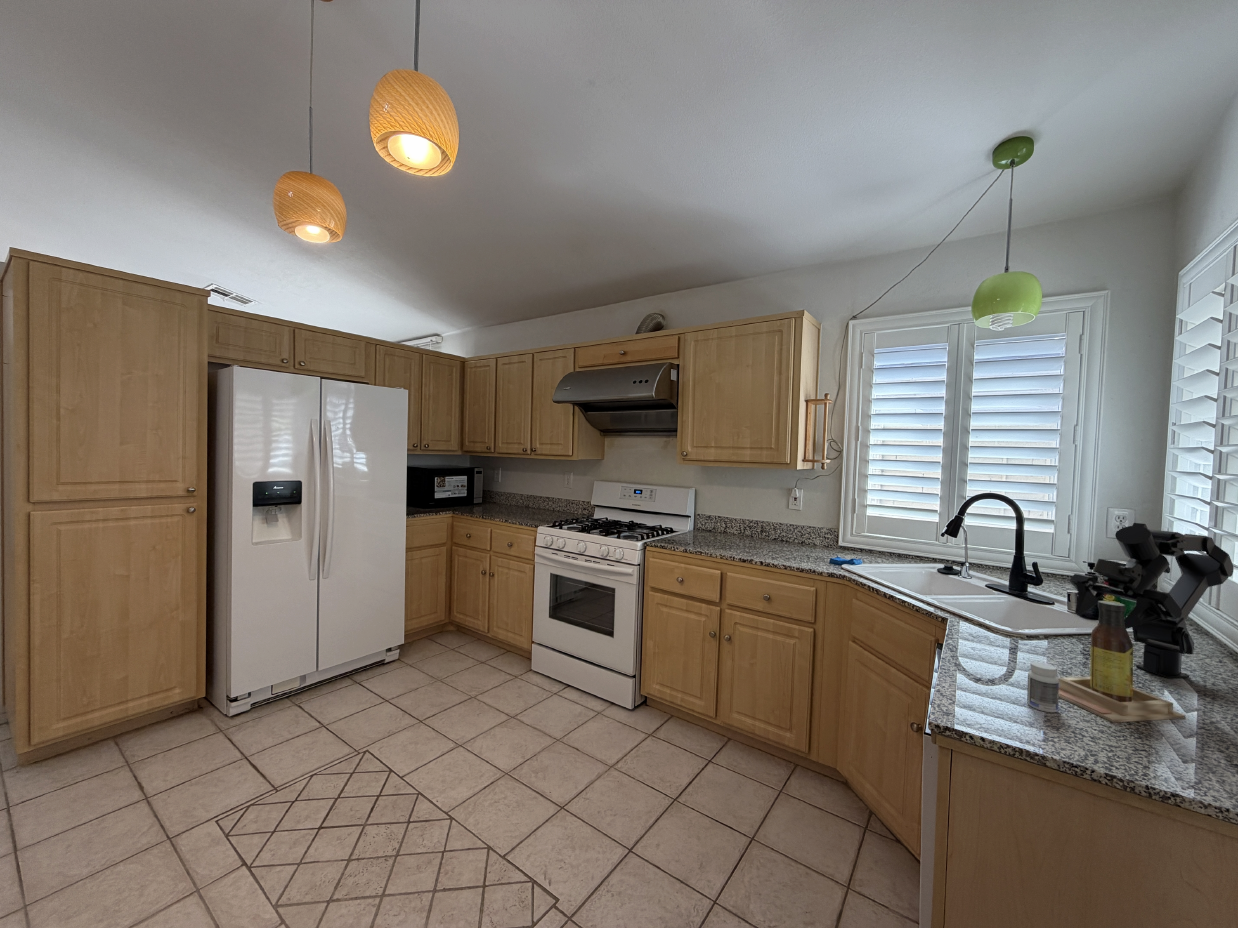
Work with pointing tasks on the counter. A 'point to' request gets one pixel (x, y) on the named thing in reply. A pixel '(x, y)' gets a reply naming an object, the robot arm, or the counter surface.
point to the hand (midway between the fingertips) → (1099, 620)
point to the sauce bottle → (1111, 654)
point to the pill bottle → (1043, 687)
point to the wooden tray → (1115, 702)
